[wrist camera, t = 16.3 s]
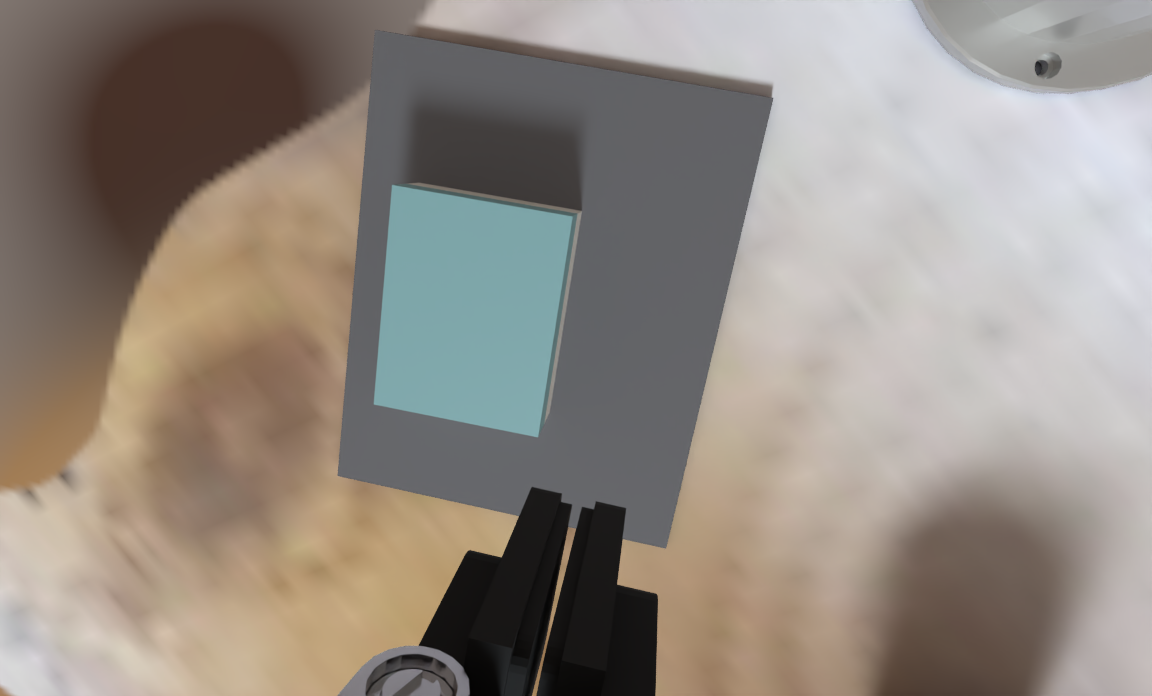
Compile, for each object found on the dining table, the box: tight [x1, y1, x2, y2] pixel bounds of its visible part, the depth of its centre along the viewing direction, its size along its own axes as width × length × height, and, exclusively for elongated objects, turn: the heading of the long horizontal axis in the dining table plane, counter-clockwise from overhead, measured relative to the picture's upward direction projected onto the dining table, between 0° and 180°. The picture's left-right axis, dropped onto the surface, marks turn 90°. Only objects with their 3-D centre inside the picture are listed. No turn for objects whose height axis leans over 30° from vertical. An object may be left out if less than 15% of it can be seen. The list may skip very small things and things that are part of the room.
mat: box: [338, 30, 773, 548], centre depth 30 cm, size 20×16×1 cm
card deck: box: [374, 183, 582, 437], centre depth 29 cm, size 9×3×7 cm
